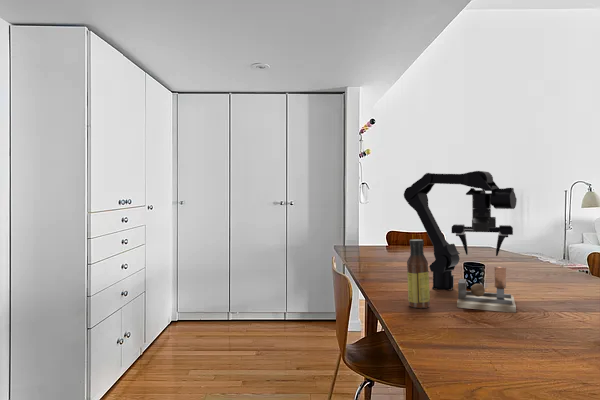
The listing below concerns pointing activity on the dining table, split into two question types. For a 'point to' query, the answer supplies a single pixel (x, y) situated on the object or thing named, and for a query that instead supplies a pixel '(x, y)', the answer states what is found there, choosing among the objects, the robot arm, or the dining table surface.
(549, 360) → the dining table surface
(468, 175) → the robot arm
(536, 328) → the dining table surface
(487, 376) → the dining table surface
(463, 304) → the nutcracker board
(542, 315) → the dining table surface
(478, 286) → the walnut
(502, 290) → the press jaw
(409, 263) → the sauce bottle
